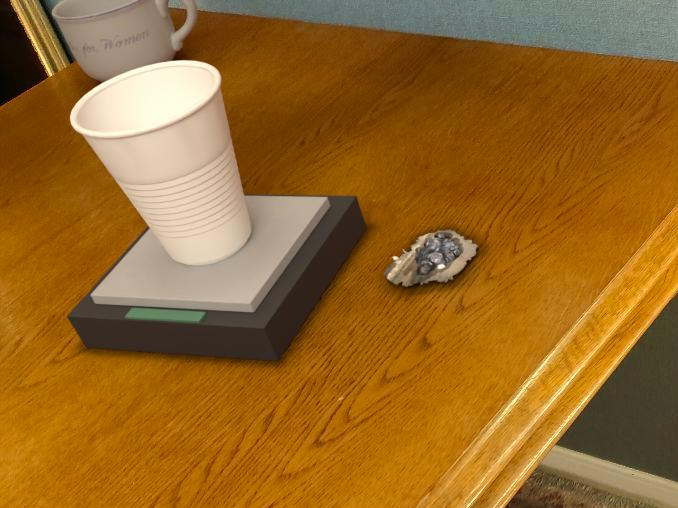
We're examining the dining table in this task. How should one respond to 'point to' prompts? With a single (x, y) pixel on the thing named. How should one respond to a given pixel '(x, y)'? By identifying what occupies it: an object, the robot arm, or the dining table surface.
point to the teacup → (121, 33)
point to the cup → (171, 156)
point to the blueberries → (432, 259)
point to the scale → (225, 285)
